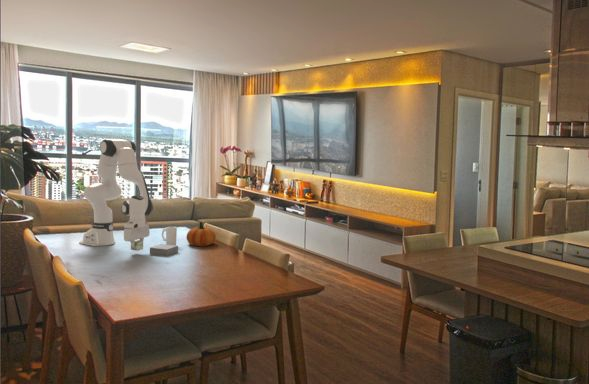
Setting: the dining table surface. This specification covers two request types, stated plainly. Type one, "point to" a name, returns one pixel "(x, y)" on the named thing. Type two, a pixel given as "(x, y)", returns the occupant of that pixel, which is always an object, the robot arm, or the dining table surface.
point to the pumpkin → (201, 236)
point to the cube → (137, 245)
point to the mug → (170, 235)
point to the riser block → (163, 249)
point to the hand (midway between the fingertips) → (137, 246)
